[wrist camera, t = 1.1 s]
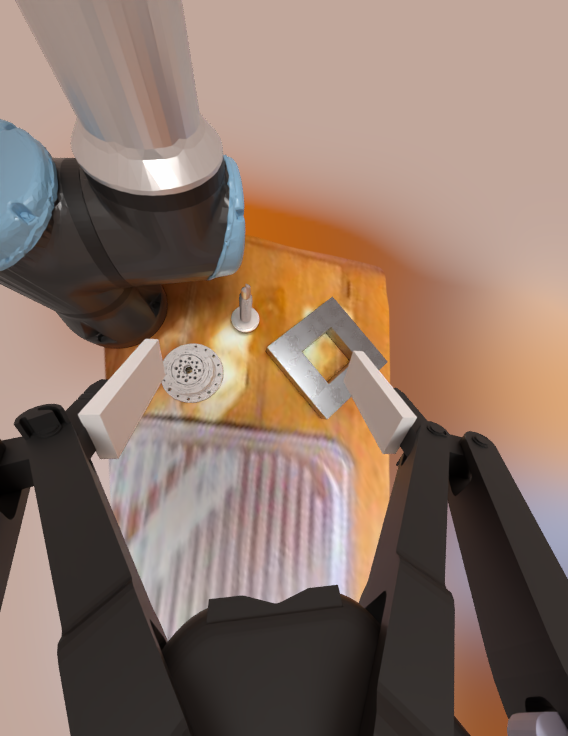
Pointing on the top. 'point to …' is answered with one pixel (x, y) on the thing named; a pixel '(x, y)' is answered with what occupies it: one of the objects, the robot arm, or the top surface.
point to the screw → (245, 312)
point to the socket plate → (300, 369)
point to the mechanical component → (192, 373)
